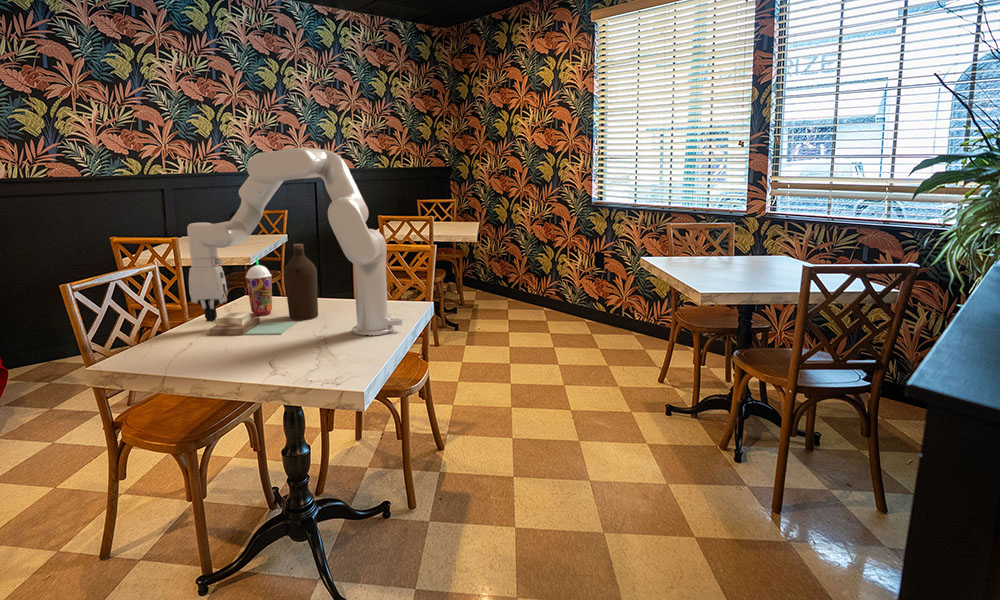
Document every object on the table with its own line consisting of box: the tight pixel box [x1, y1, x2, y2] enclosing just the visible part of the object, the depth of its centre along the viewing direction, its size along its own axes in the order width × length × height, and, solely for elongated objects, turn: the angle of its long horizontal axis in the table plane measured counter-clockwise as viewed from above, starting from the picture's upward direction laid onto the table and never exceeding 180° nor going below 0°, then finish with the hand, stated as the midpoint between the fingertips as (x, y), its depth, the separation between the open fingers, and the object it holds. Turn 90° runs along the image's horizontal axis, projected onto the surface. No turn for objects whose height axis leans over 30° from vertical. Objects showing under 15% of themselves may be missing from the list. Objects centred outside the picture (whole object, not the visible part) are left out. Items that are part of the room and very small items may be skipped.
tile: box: [215, 312, 252, 326], centre depth 188 cm, size 8×7×2 cm
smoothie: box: [245, 256, 273, 317], centre depth 206 cm, size 8×8×20 cm
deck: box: [209, 316, 261, 336], centre depth 189 cm, size 10×14×2 cm
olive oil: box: [283, 243, 319, 321], centre depth 201 cm, size 11×11×25 cm
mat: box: [244, 321, 296, 336], centre depth 189 cm, size 11×14×1 cm
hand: (211, 320), depth 188 cm, fingers closed
